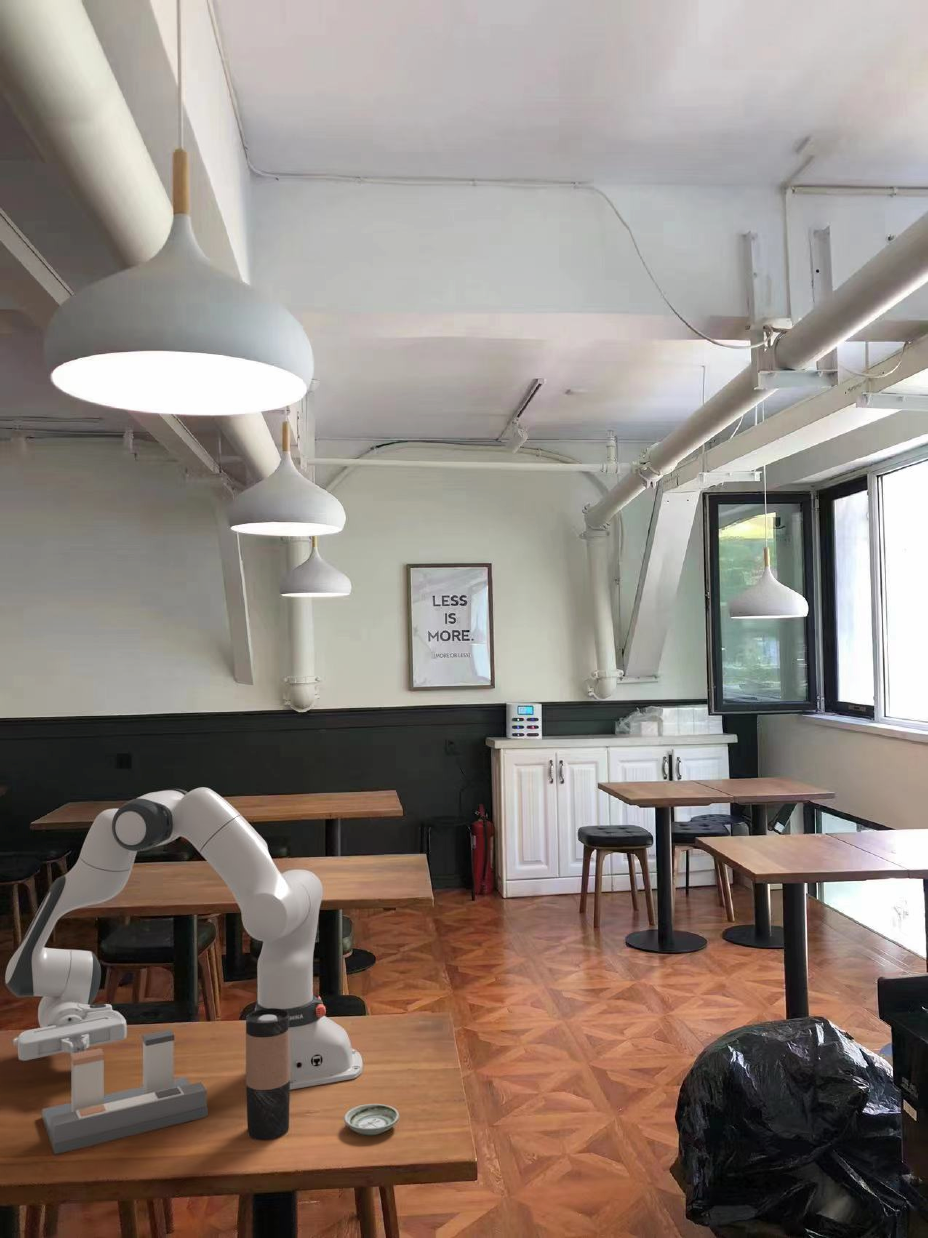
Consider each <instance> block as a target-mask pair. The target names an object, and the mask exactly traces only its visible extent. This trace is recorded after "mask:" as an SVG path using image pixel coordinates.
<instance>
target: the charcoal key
mask: <svg viewBox="0 0 928 1238" xmlns="http://www.w3.org/2000/svg"><path fill="white" fill-rule="evenodd" d="M141 1039H142V1040H141V1041H142V1087H143V1095H145V1094H149V1093H153V1092H158V1091H162V1090H166V1089H171V1088H174V1079H175V1060H174V1059H175V1052H174V1051H175V1048H174V1047H175V1042H174V1041H175V1034H174V1032H173V1031H172V1030H171V1029H167V1030H161V1031H156V1032H152V1033H147V1034H142V1035H141Z"/></svg>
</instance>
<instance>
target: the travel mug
mask: <svg viewBox="0 0 928 1238" xmlns="http://www.w3.org/2000/svg"><path fill="white" fill-rule="evenodd" d="M245 1093H246V1097H245V1098H246V1117H247V1118H246V1119H247V1120H246V1121H247V1134H248V1136H249V1137H250V1138H252V1139H255V1140H257V1141H271V1140H275V1139H278V1138H280V1137H283V1136H285V1134H287V1133H288V1131H289V1129H290V1103H291V1102H290V1095H291V1090H290V1054H289V1014H288V1012H287V1011H285V1010H282V1009H277V1008H268V1009H261V1010H257V1011H255V1010H254V1011H252V1012H249V1013H248V1014H247V1015H246V1017H245Z"/></svg>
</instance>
